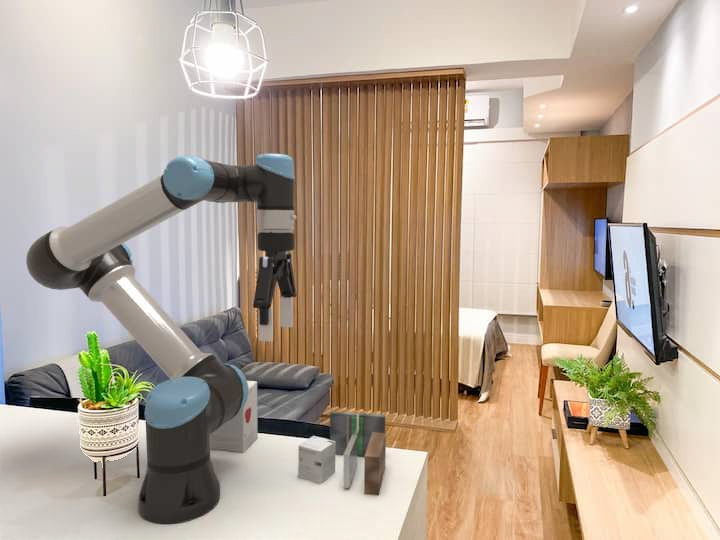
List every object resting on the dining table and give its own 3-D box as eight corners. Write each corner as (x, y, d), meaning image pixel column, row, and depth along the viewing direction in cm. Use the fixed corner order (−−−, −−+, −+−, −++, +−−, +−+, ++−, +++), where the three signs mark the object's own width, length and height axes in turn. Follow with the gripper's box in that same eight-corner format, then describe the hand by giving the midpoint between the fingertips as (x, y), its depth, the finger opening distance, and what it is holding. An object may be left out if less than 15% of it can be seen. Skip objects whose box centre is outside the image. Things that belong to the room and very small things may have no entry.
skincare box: (297, 477, 111) (297, 444, 111) (313, 466, 117) (313, 434, 116) (321, 484, 108) (321, 451, 108) (336, 472, 114) (336, 440, 113)
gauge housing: (313, 489, 106) (312, 442, 106) (331, 451, 124) (331, 411, 123) (378, 495, 104) (379, 447, 103) (387, 456, 122) (388, 415, 121)
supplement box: (243, 453, 123) (243, 392, 121) (209, 449, 124) (207, 389, 123) (258, 437, 132) (258, 380, 130) (226, 434, 133) (225, 378, 132)
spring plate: (343, 487, 106) (343, 440, 106) (355, 454, 121) (355, 413, 120) (349, 487, 106) (349, 440, 105) (360, 455, 121) (360, 413, 120)
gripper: (274, 232, 93) (275, 348, 95) (309, 230, 117) (309, 322, 119) (234, 232, 94) (236, 346, 96) (277, 230, 119) (278, 321, 121)
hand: (276, 333), depth 108 cm, fingers open, 13 cm apart
